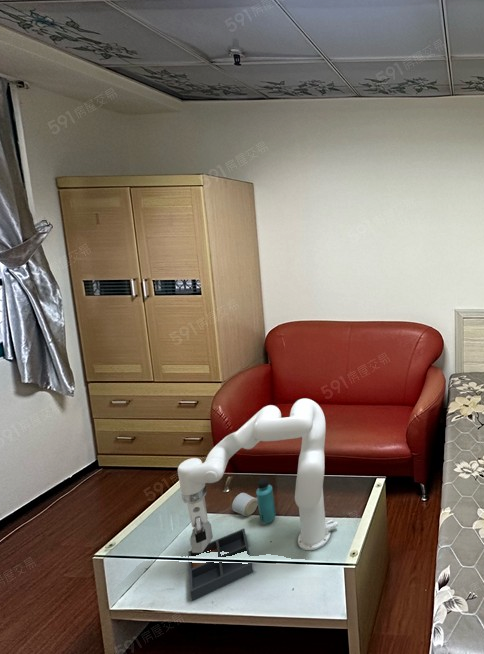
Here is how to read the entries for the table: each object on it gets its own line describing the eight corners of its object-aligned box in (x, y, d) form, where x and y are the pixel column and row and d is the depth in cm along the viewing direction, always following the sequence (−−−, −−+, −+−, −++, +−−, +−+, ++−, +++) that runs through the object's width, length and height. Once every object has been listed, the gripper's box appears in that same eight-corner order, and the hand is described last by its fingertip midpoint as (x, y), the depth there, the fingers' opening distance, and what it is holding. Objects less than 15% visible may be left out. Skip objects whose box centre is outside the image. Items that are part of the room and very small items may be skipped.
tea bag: (212, 537, 156) (209, 515, 154) (202, 552, 150) (198, 529, 148) (203, 537, 157) (199, 515, 154) (192, 552, 150) (188, 529, 148)
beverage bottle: (279, 515, 178) (274, 475, 173) (271, 527, 171) (266, 486, 167) (265, 514, 178) (260, 474, 174) (256, 526, 172) (251, 485, 167)
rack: (245, 536, 167) (244, 528, 166) (253, 572, 151) (252, 563, 150) (189, 560, 156) (188, 551, 155) (191, 601, 141) (190, 591, 140)
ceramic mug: (246, 520, 175) (244, 505, 173) (232, 515, 178) (230, 499, 176) (265, 503, 184) (264, 489, 183) (252, 498, 187) (250, 484, 186)
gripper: (207, 502, 143) (214, 544, 147) (204, 474, 157) (210, 513, 161) (182, 512, 139) (189, 554, 143) (181, 482, 153) (188, 522, 157)
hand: (200, 532), depth 152 cm, fingers closed on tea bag, 7 cm apart
